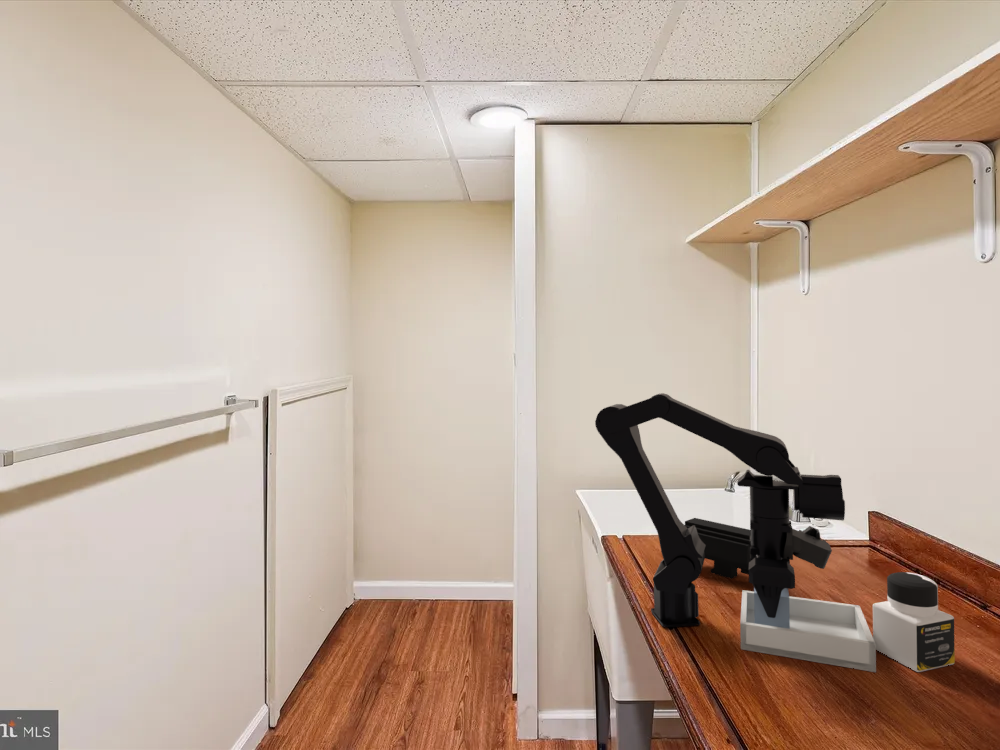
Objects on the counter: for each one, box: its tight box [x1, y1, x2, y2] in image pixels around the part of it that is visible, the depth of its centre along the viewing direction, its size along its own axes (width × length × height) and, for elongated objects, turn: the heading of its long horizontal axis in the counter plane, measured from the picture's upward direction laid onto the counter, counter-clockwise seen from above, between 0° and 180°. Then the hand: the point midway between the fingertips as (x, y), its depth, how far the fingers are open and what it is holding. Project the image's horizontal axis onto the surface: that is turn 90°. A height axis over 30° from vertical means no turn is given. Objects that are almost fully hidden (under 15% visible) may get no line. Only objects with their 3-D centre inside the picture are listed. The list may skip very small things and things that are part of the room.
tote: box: [739, 589, 877, 673], centre depth 89 cm, size 18×14×4 cm
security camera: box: [684, 517, 751, 580], centre depth 116 cm, size 7×18×10 cm, turn 40°
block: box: [753, 587, 790, 629], centre depth 91 cm, size 5×5×5 cm
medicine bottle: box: [872, 571, 956, 673], centre depth 83 cm, size 7×7×12 cm
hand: (771, 609), depth 91 cm, fingers open, 5 cm apart
